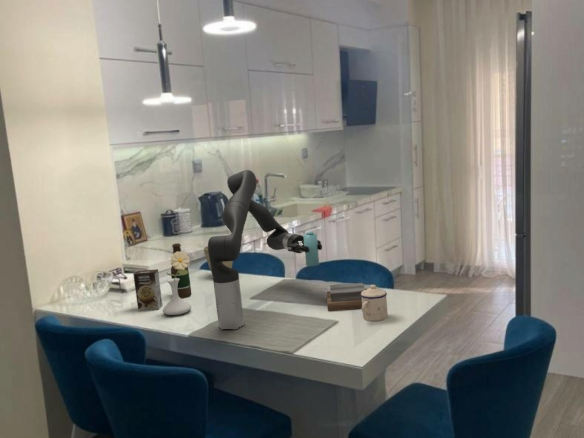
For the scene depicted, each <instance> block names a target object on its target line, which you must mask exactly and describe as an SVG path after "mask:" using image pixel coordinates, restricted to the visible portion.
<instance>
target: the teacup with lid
mask: <svg viewBox="0 0 584 438" xmlns="http://www.w3.org/2000/svg"><path fill="white" fill-rule="evenodd" d="M387 295H388V294H387V291H386V290H385V289H383V288H382V289H381V288H379V287H377V285H375V284H371V285H369V287H368V288H367V290H364V291H363V292H362V293H361V297H362V309H361V312H362V318H363V319H364V320H366V321H369V322H381V321H384V320H386V319H387V318H388V317H389V316H388V304H387V303H388V301H387Z"/></svg>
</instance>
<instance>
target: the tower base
mask: <svg viewBox="0 0 584 438" xmlns="http://www.w3.org/2000/svg"><path fill="white" fill-rule="evenodd" d="M329 287H330V290H329V291H328V290H327V293H326V306H327V307H326V308H327V311H328V312H333V311H335V312H337V311H347V310H360V309H361V310H362V297H361V293H362V292H363V291H364V290H367V289H368V288H365V285H364V283H363V282H357V283H354V282H353V283H343V284H342V283H341V284H331V285H329Z"/></svg>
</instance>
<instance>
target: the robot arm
mask: <svg viewBox="0 0 584 438" xmlns="http://www.w3.org/2000/svg"><path fill="white" fill-rule="evenodd" d="M226 182H227V184H226V185H227V187H228V189H229V191H230V192H231V194H232V196H231V197H230V198H229V199H228V201H226V203H225V206H224V207H223V212H222V221H223V223H224V225H225V226H226V228H227V229H228V230H229V231H230V233H231V234H228V235H217V236H215V235H214V236H211V237H210V238H209V239H208V241H207V246H208V253H209V259H210V264H211V270H210V272H211V271H212V272H211V275H212V281H213V289H214V291H213V292H214V298H215V306H216V314H217V320H218V321H217V322H218V324H217V325H218V328H219V327H220V328H221V329H233V330H238V329H240V328H241V326H242V327H243V326H244V325H245V319H244V318H245V317H244V312H243V311H244V310H243V302H242V301H243V300H242V292H241V284H240V275H239V271H238V270H237V269H236V268H233V267H232V268H229V267H227V266H225V265H224V264H223V263H222V262H226V261H233V262H234V261H236V260H237V259H239V256H240V253H241V247H242V238H243V233H244V229H245V225H246V222H247V218H248V214H249V213H250V215H252V217H253V218H254V219H255V221H256V222H257V224H258V226H260V228H261V230H262V231H263V232H264V233H269V232H271V233H270V234H269V235H268V236H267V237H266V244H267V246H268V247H269V248H270V249H271V250H274V251H281V250H284V249H285V250H287V251H288V252H292V253H296V254H302V253H305V252H309V248H308V247H307V246H304V237H303V235H301V234H297V233H290V232H289V231H288V230H287V229H286V228H285V227H284V226H282V225H281V223H279V222H278V221H277V220H276V219H275V217H274V216H273V214H272V212H271V211H270V210H269V209H268V208H267V207H266V206H264V205H263V204H261V203H258V202H257V201H255V200H253V196H254V194H255V192H256V189H257V183H258V181H257V177H256V175H255V173H254V172H253V170H249V169H244V170H241V171H239V172H237V173H234V174H233V175H232V174H231V175H230V176H229V177H227V181H226ZM317 244H318V251H322V249H323V245H322V241H321V240H318V239H317ZM239 327H240V328H239ZM220 328H219V329H220ZM221 329H220V330H221Z"/></svg>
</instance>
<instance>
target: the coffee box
mask: <svg viewBox="0 0 584 438" xmlns="http://www.w3.org/2000/svg"><path fill="white" fill-rule="evenodd" d="M133 281H134V290H135V298H136V305H137V311H138V312H146V311H158V310H160V309H161V308H162V307H163V302H162V301H163V299H162V292H161V284H160V283H161V282H160V274H159V269H157V268H156V269H146V270H145V269H144V270H137V271H135V272H134V273H133Z"/></svg>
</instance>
